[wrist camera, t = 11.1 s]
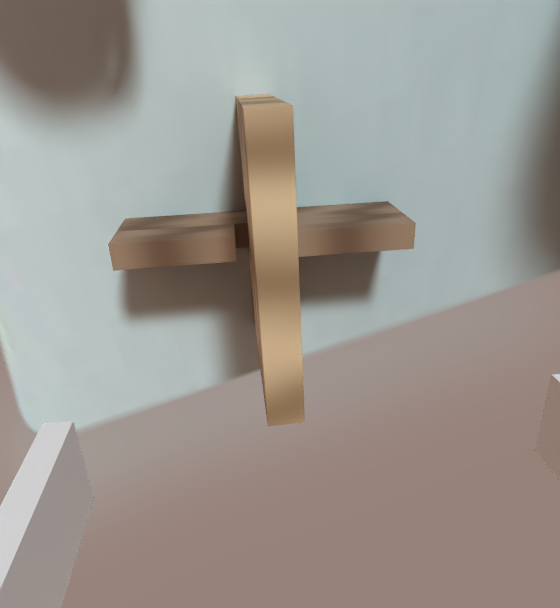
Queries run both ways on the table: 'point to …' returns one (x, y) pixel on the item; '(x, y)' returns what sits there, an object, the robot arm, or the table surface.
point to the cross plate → (273, 250)
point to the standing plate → (234, 234)
